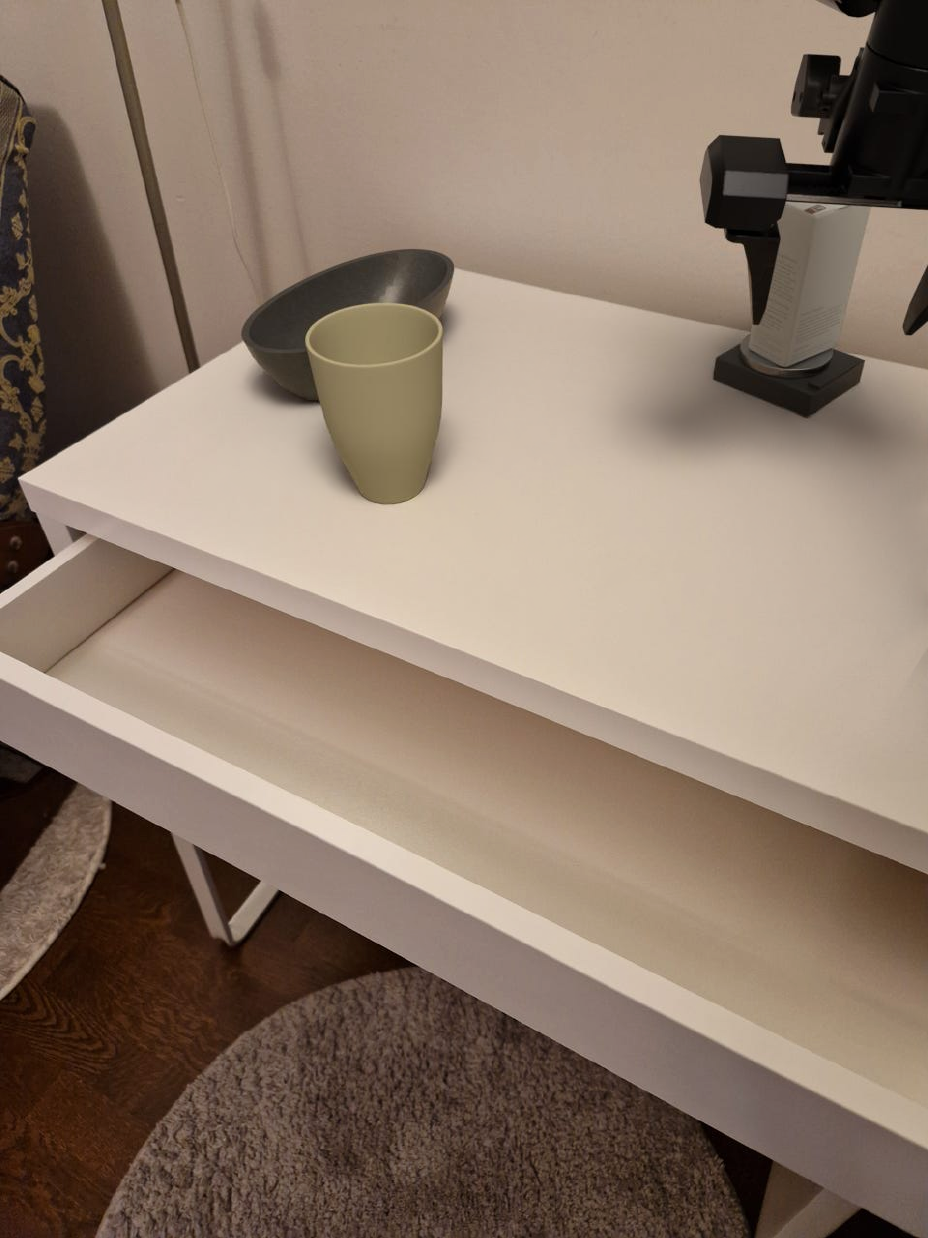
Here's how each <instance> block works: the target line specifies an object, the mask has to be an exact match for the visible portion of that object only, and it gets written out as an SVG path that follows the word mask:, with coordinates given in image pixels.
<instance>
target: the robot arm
mask: <svg viewBox="0 0 928 1238" xmlns="http://www.w3.org/2000/svg"><path fill="white" fill-rule="evenodd" d="M815 1H816V2H818V3H820V4H822V5H824V6H826V7H829V8H831V9H833V10H835V11H837V12H838V13H841V14H843V15H845V16H847V17H849V18H850V17H851V18H856V19H859V18H865V17H868V16H870V15H872V14H874V15H873V18H872V22H871V25H870V29H869V31H868V35H867V38H866V41H865V45H864V47H863V46H862V47H859V50H858V54H857V55H856V57H855V59H854V62H853V66H852V69H851V72H850V73H849V75H848V74H841V65H842V57H841V56H840V55H837V54H835V55H834V54H816V53H815V54H814V53H805V54H803V55H802V59H801V62H800V65H799V69H798V71H797V76H796V79H795V83H794V87H793V94H792V97H791V104H790V114H791V116H792V117H795V118H809V119H819V121H818V126H817V133H816V134H817V136H823V137H822V140H821V147H822V151H823V153H824V154H832V155H831V158H830V161H829V164H815V163H797V162H787V159H786V155H785V153H784V149H783V144H782V141H781V138H780V137H763V136H748V135H729V134H719V135H717V136H716V138H714V140H712V141H711V142H710V143H709V144H708V145H707V147H706V149H705V151H704V155H703V160H702V164H701V171H700V174H699V180H698V181H699V189H700V195H701V196H700V197H701V205H702V212H703V220H704V221H703V222H704V224H706V225H708V226H710V227H712V228H714V229H719V230H720V229H721V230H723V233H724V239H726V241H727V242H730V243H733V244H740V245H743V249H744V253H745V258H746V264H747V265H746V266H747V275H748V277H747V278H748V288H749V289H748V291H749V304H750V316H751V317H750V318H751V323H752V324H753V325H759V324H760V322H761V320H762V317H763V315H764V312H765V310H766V306H767V302H768V297H769V292H770V288H771V283H772V278H773V274H774V269H775V264H776V260H777V255H778V250H779V246H780V241H781V236H780V232H779V228H778V223H777V221H778V220H780V219H781V218H782V214H783V210H784V207H785V203H786V202H800V203H816V204H833V205H849V206H866V207H871V208H881V209H882V208H883V209H900V210H915V211H916V210H917V211H928V0H815ZM927 323H928V264H927V265H926V268H925V270H924V271H923V274H922V275H921V277H920V280H919V282H918V284H917V286H916V289H915V291H914V293H913V295H912V296H911V298H910V302H909V304H908V307H907V309H906V312H905V317H904V318H903V322H902V325H901V327H902V331H903V334H904V335H905V336H914V334H916V333H917V331H919V330H920V329H921V328H922V327H923V326H925V325H926V324H927Z"/></svg>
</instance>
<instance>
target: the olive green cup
mask: <svg viewBox="0 0 928 1238" xmlns="http://www.w3.org/2000/svg"><path fill="white" fill-rule="evenodd" d="M305 342H306V348H307V352H308V356H309V360H310V364H311V368H312V372H313V377H314V381H315V385H316V389H317V393H318V397H319V401H318V402H319V405H320V409H321V413H322V417H323V419H324V423H325V426H326V429H327V431H328V434H329V437H330V438H331V441H332V442H333V445H334V447H335V450H336V451H337V453H338V454H339V456H340V458H341V461H342V462H343V464H344V465H345V467H346V469H347V471H348V473H349V475H350V477H351V478H352V480H353V482H354V484H355V486H356V488H357V490H358V492H359V493H360V494H361V496H362V497H364V498H365V499H367V500H368V501H370V502H373V503H377V504H385V505H389V504H390V505H391V504H399V503H404V502H407V501H409V500H411V499H413V498H415V497H416V496H417V495H418V494H420V493H421V491H422V490H423V488H424V486H425V483H426V480H427V479H426V478H427V476H428V472H429V468H430V464H431V462H432V457H433V454H434V451H435V450H434V449H435V446H436V442H437V439H438V436H439V431H440V426H441V419H442V411H443V409H442V408H443V373H444V372H443V369H444V368H443V366H444V365H443V362H444V361H443V360H444V359H443V357H444V356H443V355H444V353H443V352H444V351H443V350H444V328H443V325H442V323H441V321H440V319H439V320H438V319H437V318H436V317H435V316H434V315H433V314H431V313H430V312H428V311H426V310H424V309H421V308H418V307H415V306H411V305H405V304H398V303H371V304H362V305H357V306H352V307H348V308H344V309H341V310H338V311H335V312H333V313H331V314H329V315H327V316H325V317H323V318H321V319H320V320H318V321H317V322H316V323H315V324H313V325H312V326H311V328H310V329H309V330H308V332H307V334H306V338H305Z"/></svg>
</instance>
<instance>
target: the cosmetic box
mask: <svg viewBox="0 0 928 1238" xmlns="http://www.w3.org/2000/svg"><path fill="white" fill-rule="evenodd" d="M871 209H872V207H866V206H849V205H833V204H816V203H800V202H786V203H785V207H784V210H783V214H782V218H781V219H780V220H778V221H777V223H778V228H779V232H780V236H781V241H780V246H779V250H778V255H777V260H776V264H775V269H774V274H773V278H772V283H771V288H770V292H769V297H768V302H767V306H766V310H765V312H764V315H763V317H762V320H761V322H760V324H759V325H753V323H752V325H751V331H750V333H751V335H750V341H749V348H750V349H751V350H752V351H754V352H755V353H757V354H758V355H760V356H762V357H764V358H765V359H767V360H769V361H771V362H773V363H775V364H777V365H779V366H782V367H788V366H790V365H792V364H795V363H797V362H800V361H802V360H804V359H807V358H809V357H811V356H814V355H816V354H819V353H821V352H823V351H826V350H828V349H831V348H833V349H834V348H836V347H837V346H838V344H839V341H840V337H841V333H842V328H843V325H844V320H845V316H846V313H847V309H848V303H849V299H850V295H851V291H852V287H853V283H854V279H855V275H856V271H857V265H858V263H859V259H860V254H861V250H862V246H863V241H864V238H865V233H866V230H867V225H868V221H869V218H870V214H871Z"/></svg>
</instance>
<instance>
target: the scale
mask: <svg viewBox="0 0 928 1238" xmlns="http://www.w3.org/2000/svg"><path fill="white" fill-rule="evenodd" d="M750 335H751V332H750V333H749V334H747V335H746V336H745V337H743V339H742V340H741V342H740V343H738V344H736V345H735V346H733V347H731V348H730V349H728V350H726V351H724V352H723V353H720V354H719V355H718V356H716V357H715V361H714V362H715V363H714V368H713V369H714V370H713V376H712V380H714V381H717V382H719V383H721V384H724V385H726V386H728V387H731V388H733V389H736V390H738V391H740V392H744V393H745V394H748V395H751V396H752V397H755V398H758V399H761V401H762V400H763V401H765V402H768V403H770V404H772V405H775V406H777V407H780V408H782V409H784V410H787V411H789V412H791V413H795V414H797V415H799V416H802V417H804V418H807V419H808V418H810V417H811V416H812V415H814V414H816V413H817V412H819V411H820V410H822V409H823V408H824V407H826V406H827V405H829V404H830V403H832V402H833V401H834V400H836V399H837V398H839V397H840V396H842V395H843V394H845V393H846V392H847V391H849V390H850V389H852V388H854V387H855V386H857V384H859V383H860V382H861V379H862V375H863V370H864V367H865V363H866V360H865V359H863V358H860V357H857V356H854V355H852V354H850V353H846V352H843V351H842V350H838V349H835V348H834V347H833V348H831V349H828V350H826V351H823V352H821V353H819V354H816V355H814V356H811V357H809V358H807V359H804V360H802V361H800V362H797V363H795V364H792V365H790V366H788V367H782V366H779V365H777V364H775V363H773V362H771V361H769V360H767V359H765V358H764V357H762V356H760V355H758V354H757V353H755V352H754V351H752V350H751V349H750V348H749V341H750Z"/></svg>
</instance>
